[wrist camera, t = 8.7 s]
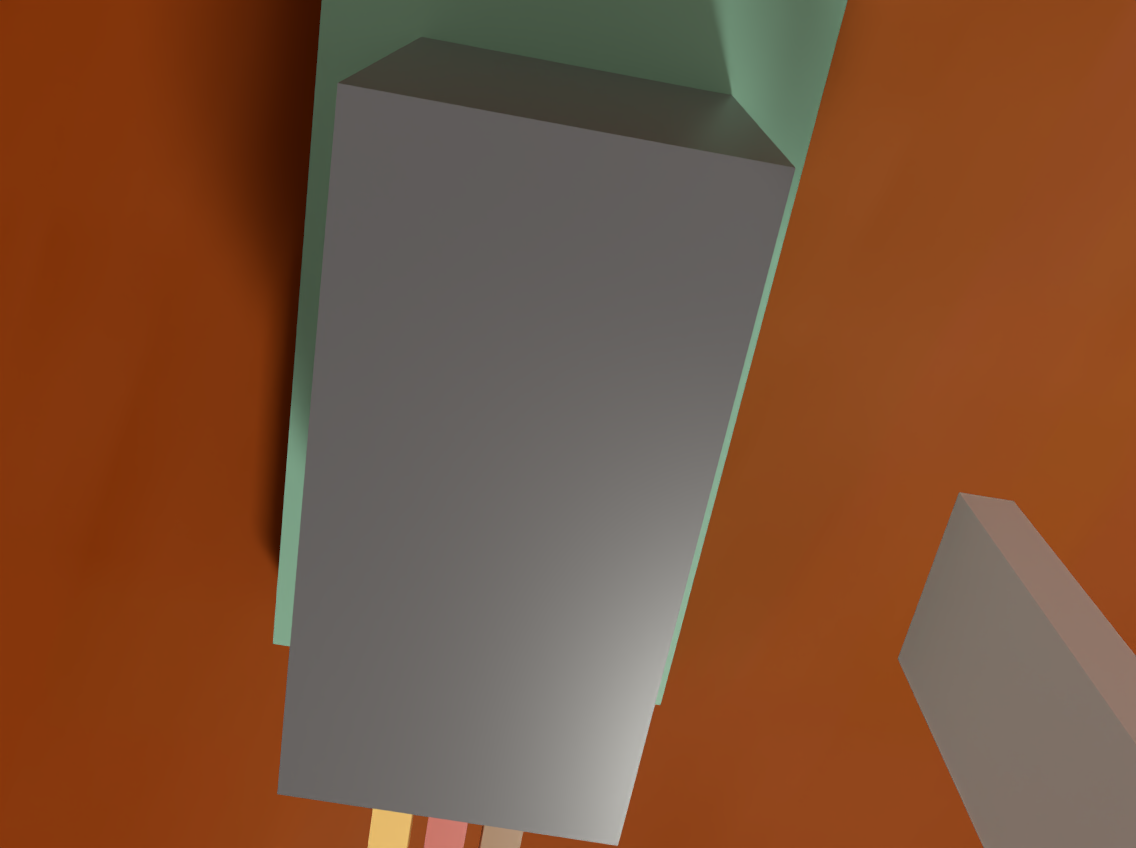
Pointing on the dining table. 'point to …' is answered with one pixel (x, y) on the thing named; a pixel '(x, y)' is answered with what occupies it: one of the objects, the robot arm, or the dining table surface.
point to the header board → (581, 38)
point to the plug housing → (513, 432)
